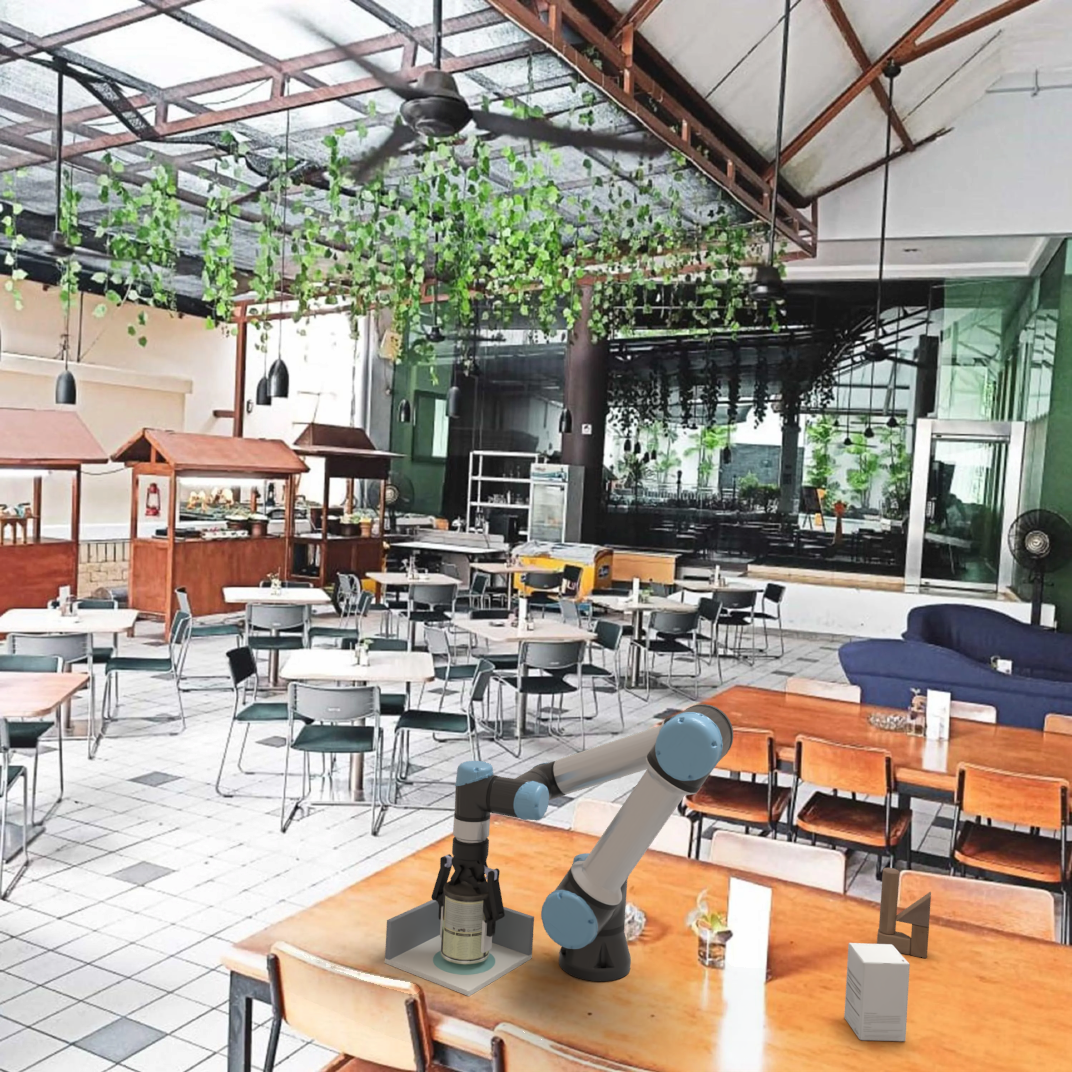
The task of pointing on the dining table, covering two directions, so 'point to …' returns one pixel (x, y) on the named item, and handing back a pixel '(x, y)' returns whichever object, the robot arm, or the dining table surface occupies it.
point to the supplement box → (877, 992)
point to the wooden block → (903, 918)
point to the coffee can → (462, 924)
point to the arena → (420, 954)
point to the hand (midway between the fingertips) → (465, 942)
